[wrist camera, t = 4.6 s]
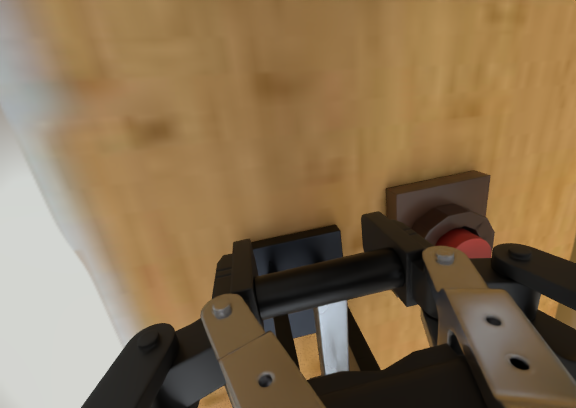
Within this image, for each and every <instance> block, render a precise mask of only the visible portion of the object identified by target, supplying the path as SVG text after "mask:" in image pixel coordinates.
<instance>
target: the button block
mask: <svg viewBox="0 0 576 408" xmlns="http://www.w3.org/2000/svg"><path fill="white" fill-rule="evenodd" d="M489 183H490V175H487V174H484V173H481V172H477V171H470V172H465V173H460V174H455V175H450V176H445V177H440V178H435V179H431V180H426V181H421V182H416V183H411V184H406V185H401V186H396V187H391V188H387V189H386V207H387V218H388V219H390V220H391V219H394V220H397V221H400V222H403V223H404V224H406V225H407V226H408V227H410V229H412V230H414V231H415V232H416V233H417V234H419V235H421V236H422V237H423V238H425V239H426V240H427V241H429V242H430V243H431V244H433V245H434V246H435V244H436V243H437V241H438V239H439V238H440V237H442V236H443V235H444V234H446V233H447V232H448V231H450V230H453V229H459V228H461V229H466V230H468V231H470V232H471V233H473V234H475V235H477V236H479V237H480V238H482V239H484V240H485V241H487V242H488V244H489V245H490V247H491V253H492V248H493V241H494V233H495V232H494V230H493V228H492V226H491V225H490V223H489V221H488V219H487V218H486V217H485V216H486V208H487V200H488V192H489ZM391 290H392V291H393V289H391ZM393 292H394V291H393ZM394 294H395V295H396V296H397V294H396V293H395V292H394ZM397 297H398V296H397Z"/></svg>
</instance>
